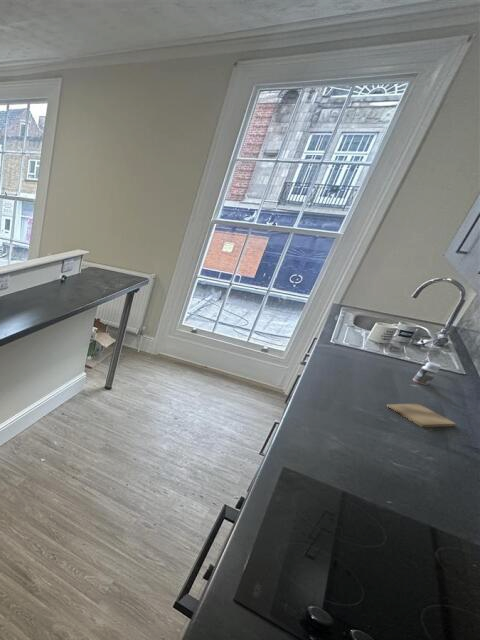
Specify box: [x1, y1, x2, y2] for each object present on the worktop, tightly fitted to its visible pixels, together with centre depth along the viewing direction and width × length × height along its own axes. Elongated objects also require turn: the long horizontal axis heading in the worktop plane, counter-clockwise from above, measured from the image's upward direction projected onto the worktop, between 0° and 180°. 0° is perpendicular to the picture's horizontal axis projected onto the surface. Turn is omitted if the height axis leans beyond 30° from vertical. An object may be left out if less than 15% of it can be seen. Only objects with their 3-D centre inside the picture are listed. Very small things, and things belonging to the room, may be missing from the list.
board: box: [386, 403, 457, 428], centre depth 141 cm, size 12×14×1 cm
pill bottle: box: [412, 361, 442, 386], centre depth 162 cm, size 5×5×8 cm
